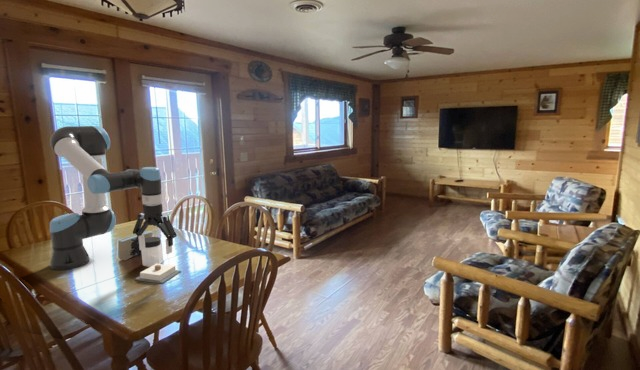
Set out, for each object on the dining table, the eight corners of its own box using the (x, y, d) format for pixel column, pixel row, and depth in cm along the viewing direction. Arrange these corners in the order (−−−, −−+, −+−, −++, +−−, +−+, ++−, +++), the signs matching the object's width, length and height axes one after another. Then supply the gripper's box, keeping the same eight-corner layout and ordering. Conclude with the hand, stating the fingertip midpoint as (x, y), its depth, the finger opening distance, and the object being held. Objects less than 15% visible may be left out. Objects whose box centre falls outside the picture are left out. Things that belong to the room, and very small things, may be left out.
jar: (143, 268, 160) (141, 243, 158) (141, 262, 166) (139, 238, 164) (164, 264, 165) (162, 240, 162) (161, 258, 171) (159, 235, 169)
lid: (140, 278, 149) (139, 269, 148) (156, 268, 158) (156, 260, 157) (160, 280, 146) (159, 271, 145) (175, 271, 156) (174, 262, 155)
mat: (135, 280, 148) (134, 278, 148) (154, 268, 160) (154, 267, 159) (163, 283, 145) (163, 282, 145) (181, 271, 156) (181, 270, 156)
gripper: (120, 203, 146) (125, 250, 150) (172, 208, 140) (175, 257, 144) (134, 199, 153) (138, 244, 157) (183, 204, 147) (186, 251, 151)
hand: (155, 251), depth 150 cm, fingers open, 13 cm apart
